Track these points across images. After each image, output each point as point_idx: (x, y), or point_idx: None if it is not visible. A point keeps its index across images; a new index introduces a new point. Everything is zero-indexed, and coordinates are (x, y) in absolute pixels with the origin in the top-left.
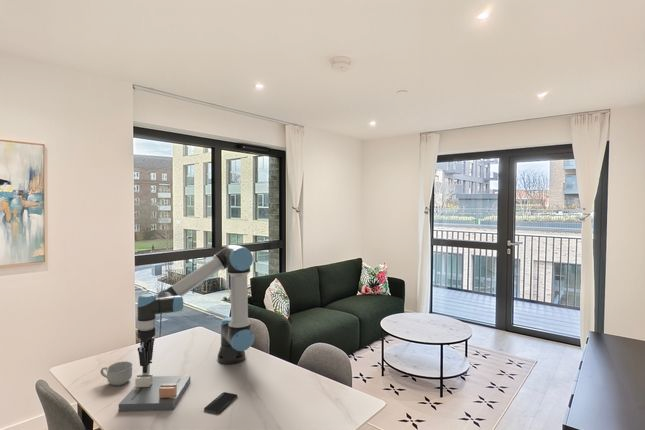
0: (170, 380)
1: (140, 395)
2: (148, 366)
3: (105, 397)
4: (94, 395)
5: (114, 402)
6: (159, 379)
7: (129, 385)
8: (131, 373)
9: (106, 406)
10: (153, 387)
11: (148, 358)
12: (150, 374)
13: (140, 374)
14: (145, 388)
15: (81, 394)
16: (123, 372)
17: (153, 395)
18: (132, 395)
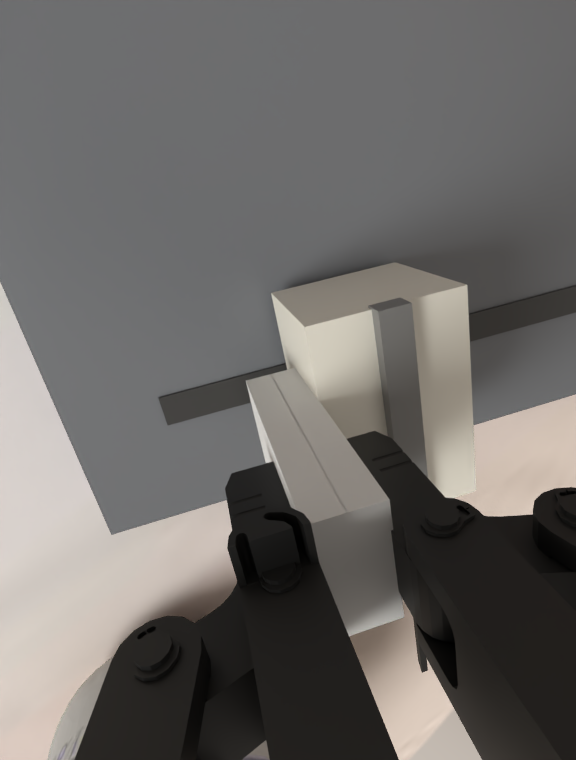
0: (98, 30)
1: (561, 247)
2: (374, 483)
3: None
4: (405, 668)
5: (499, 469)
6: (123, 266)
7: (210, 568)
8: None
9: (552, 480)
10: (370, 203)
11: (371, 712)
12: (328, 354)
13: None
14: None
15: (397, 740)
16: (262, 745)
17: (573, 60)
18: (555, 340)
